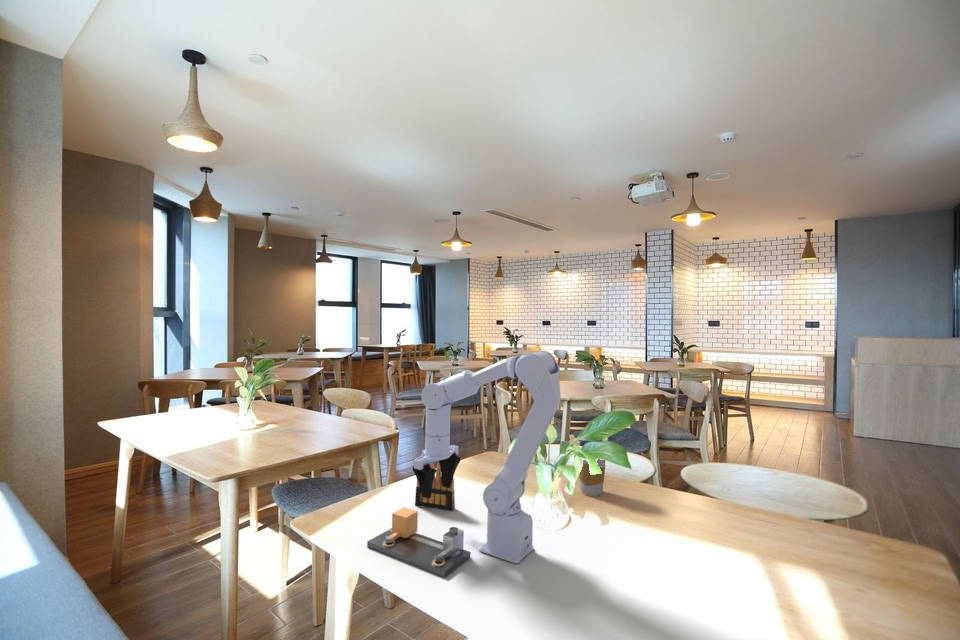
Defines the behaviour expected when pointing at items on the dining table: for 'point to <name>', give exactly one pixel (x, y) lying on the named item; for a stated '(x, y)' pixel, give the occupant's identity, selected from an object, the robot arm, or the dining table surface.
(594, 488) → the coffee cup
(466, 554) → the bolt plate
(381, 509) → the dining table surface
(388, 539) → the orange block with rod
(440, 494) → the ammunition clip
